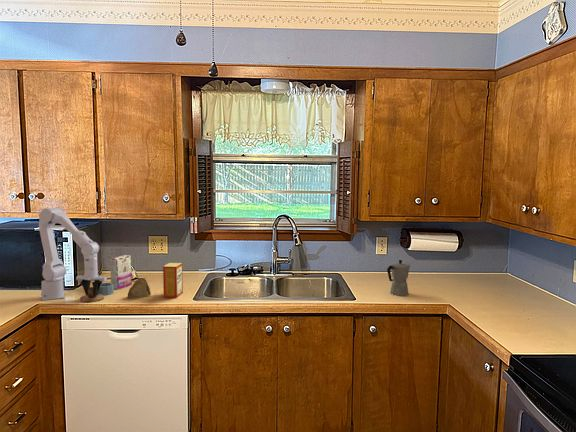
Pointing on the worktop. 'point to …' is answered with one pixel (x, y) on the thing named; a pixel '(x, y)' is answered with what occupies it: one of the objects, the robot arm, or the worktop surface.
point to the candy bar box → (121, 271)
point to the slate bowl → (106, 289)
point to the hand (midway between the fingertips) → (91, 295)
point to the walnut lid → (91, 296)
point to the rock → (139, 289)
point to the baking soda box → (172, 280)
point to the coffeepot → (399, 278)
